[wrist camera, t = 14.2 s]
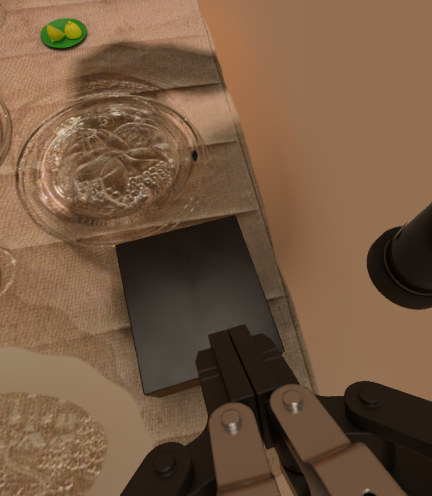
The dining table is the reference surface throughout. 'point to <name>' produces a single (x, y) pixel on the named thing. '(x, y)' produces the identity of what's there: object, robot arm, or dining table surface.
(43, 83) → the dining table surface
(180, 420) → the dining table surface
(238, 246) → the black square slab
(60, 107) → the dining table surface
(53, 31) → the green plate with lemons
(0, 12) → the container
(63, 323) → the dining table surface
